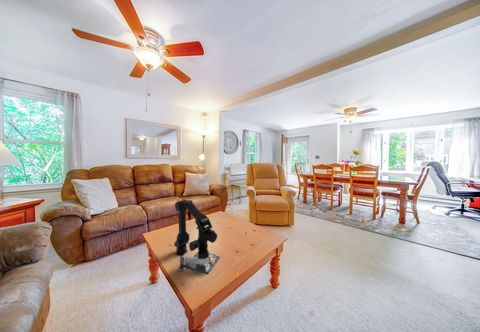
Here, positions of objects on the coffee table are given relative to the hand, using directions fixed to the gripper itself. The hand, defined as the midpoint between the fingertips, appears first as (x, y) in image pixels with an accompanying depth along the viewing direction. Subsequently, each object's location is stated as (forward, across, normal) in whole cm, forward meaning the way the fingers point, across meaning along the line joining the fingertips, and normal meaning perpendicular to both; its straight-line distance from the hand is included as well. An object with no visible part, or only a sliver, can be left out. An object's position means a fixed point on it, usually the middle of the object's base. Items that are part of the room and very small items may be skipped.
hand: (202, 259), depth 101 cm
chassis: (+5, -4, 0) cm, 6 cm away
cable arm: (0, +2, -3) cm, 4 cm away
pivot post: (+5, -1, -13) cm, 14 cm away
